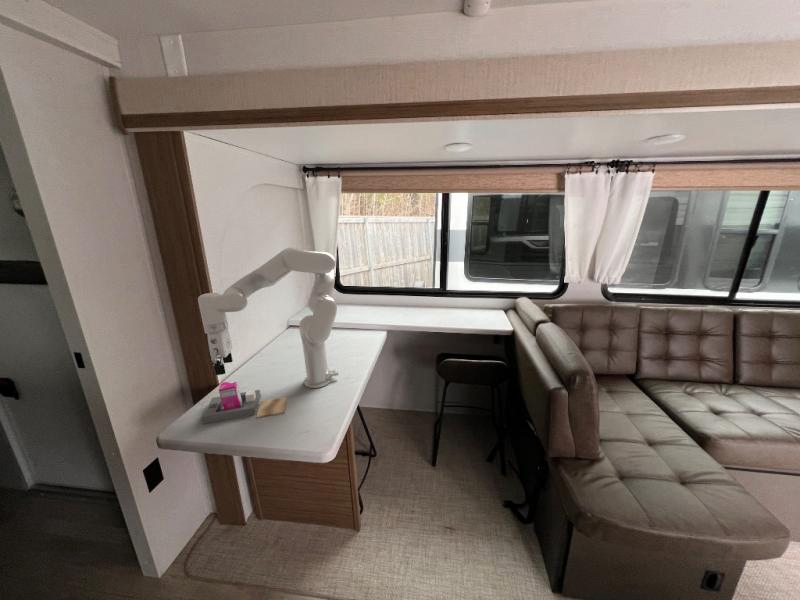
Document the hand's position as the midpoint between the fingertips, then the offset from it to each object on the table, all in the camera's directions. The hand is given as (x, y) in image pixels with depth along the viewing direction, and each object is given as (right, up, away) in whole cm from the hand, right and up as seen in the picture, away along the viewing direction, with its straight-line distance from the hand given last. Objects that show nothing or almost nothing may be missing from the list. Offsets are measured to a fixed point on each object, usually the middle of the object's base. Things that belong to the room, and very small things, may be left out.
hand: (224, 368), depth 113 cm
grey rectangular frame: (+1, -18, +5) cm, 18 cm away
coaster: (+16, -17, +5) cm, 24 cm away
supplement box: (+1, -18, +5) cm, 19 cm away
